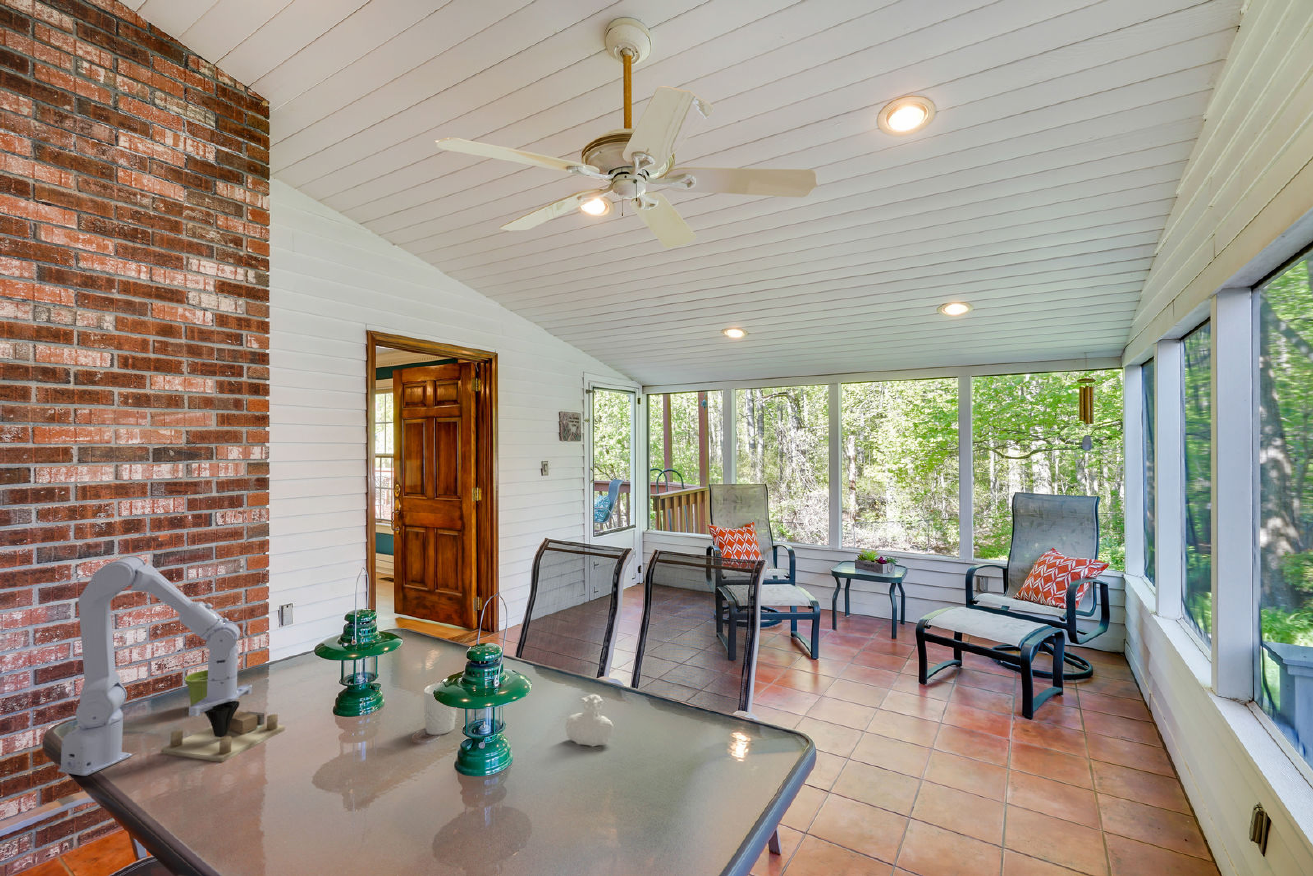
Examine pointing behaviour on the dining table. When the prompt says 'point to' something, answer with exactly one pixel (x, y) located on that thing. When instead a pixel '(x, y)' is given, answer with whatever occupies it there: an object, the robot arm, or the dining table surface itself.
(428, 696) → the white cup
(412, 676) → the dining table surface
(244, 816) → the dining table surface
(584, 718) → the white sack
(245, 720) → the hinged leg
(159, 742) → the dining table surface
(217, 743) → the tan peg board
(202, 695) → the plant pot
